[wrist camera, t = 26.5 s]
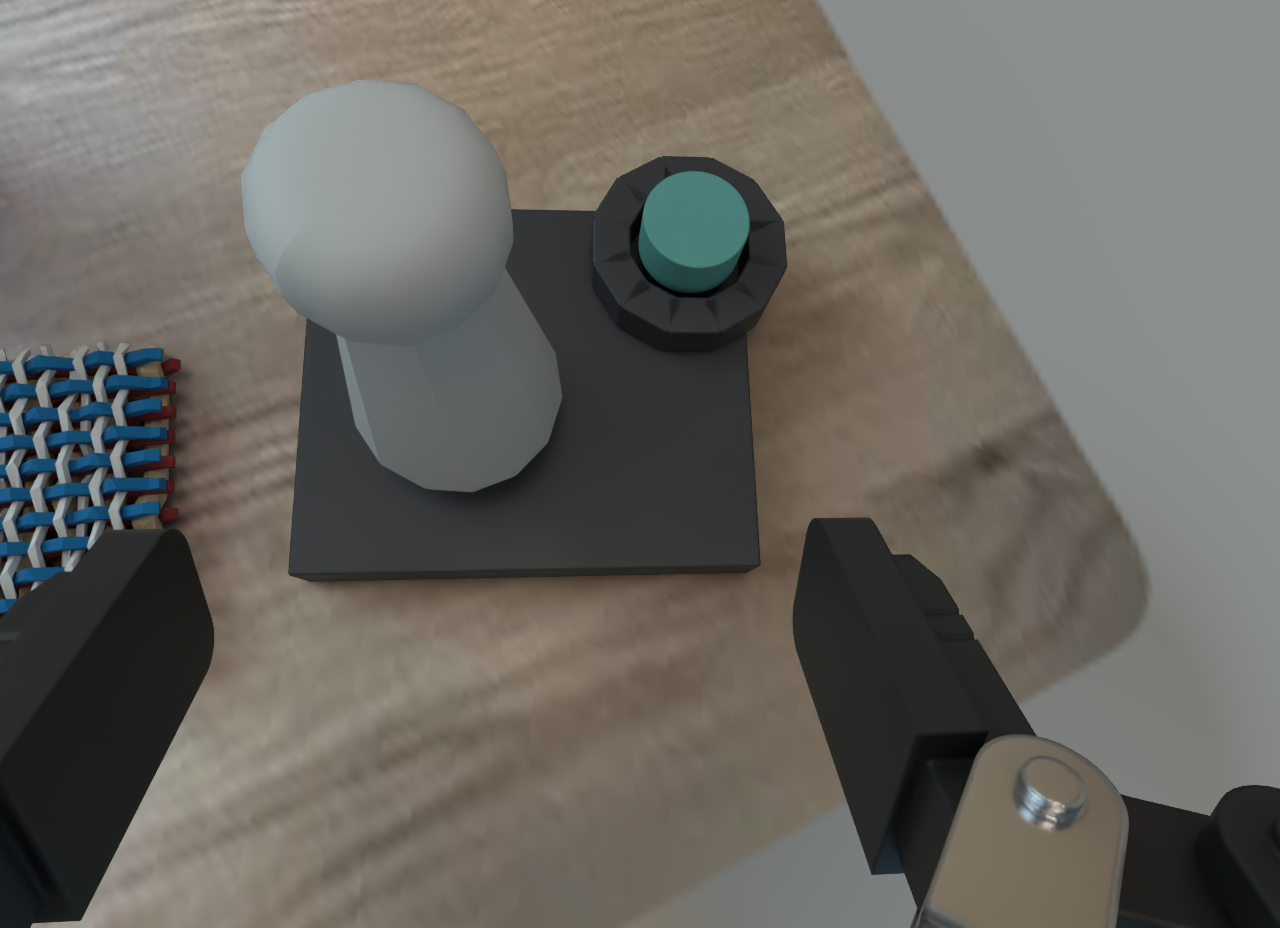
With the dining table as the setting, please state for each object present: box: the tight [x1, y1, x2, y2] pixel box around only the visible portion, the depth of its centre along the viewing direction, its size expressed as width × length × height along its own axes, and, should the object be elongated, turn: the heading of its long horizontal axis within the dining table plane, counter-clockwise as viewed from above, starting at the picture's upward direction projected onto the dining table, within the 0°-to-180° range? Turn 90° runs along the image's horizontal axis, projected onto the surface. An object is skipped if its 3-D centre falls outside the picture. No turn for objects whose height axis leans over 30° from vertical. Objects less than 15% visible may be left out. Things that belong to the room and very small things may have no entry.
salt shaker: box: [240, 79, 562, 492], centre depth 19 cm, size 6×6×13 cm
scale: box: [288, 156, 787, 581], centre depth 26 cm, size 15×13×4 cm
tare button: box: [638, 171, 750, 293], centre depth 25 cm, size 3×3×2 cm
